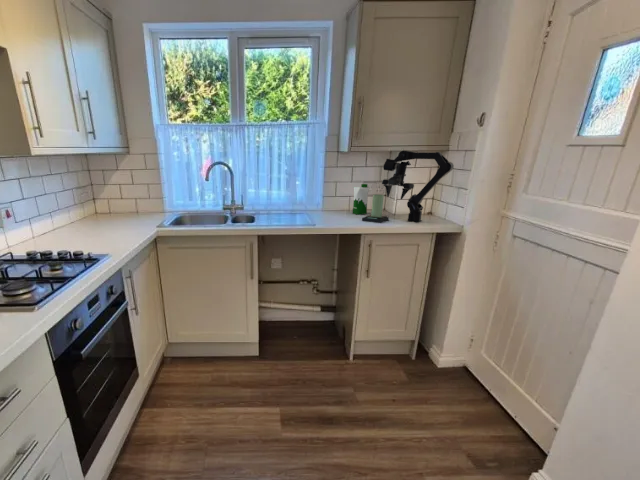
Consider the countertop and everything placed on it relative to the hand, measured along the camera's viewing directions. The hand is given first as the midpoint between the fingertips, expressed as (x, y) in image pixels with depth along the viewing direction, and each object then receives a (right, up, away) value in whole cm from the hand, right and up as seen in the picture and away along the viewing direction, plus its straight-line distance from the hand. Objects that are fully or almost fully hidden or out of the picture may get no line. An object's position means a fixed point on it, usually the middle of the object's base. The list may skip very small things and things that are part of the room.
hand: (394, 198), depth 227 cm
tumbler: (-11, -11, +1) cm, 16 cm away
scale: (-12, -14, +1) cm, 18 cm away
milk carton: (-14, -4, +28) cm, 31 cm away
